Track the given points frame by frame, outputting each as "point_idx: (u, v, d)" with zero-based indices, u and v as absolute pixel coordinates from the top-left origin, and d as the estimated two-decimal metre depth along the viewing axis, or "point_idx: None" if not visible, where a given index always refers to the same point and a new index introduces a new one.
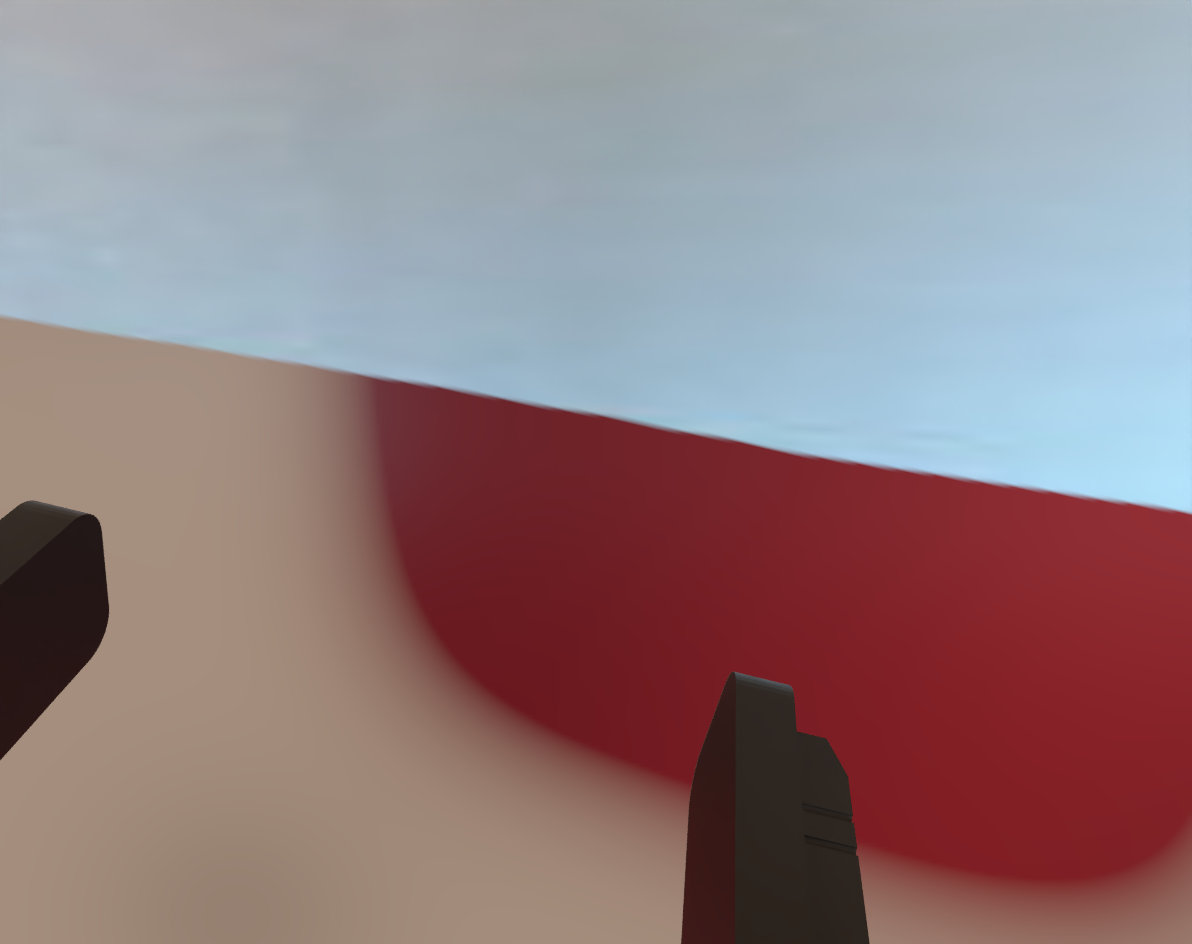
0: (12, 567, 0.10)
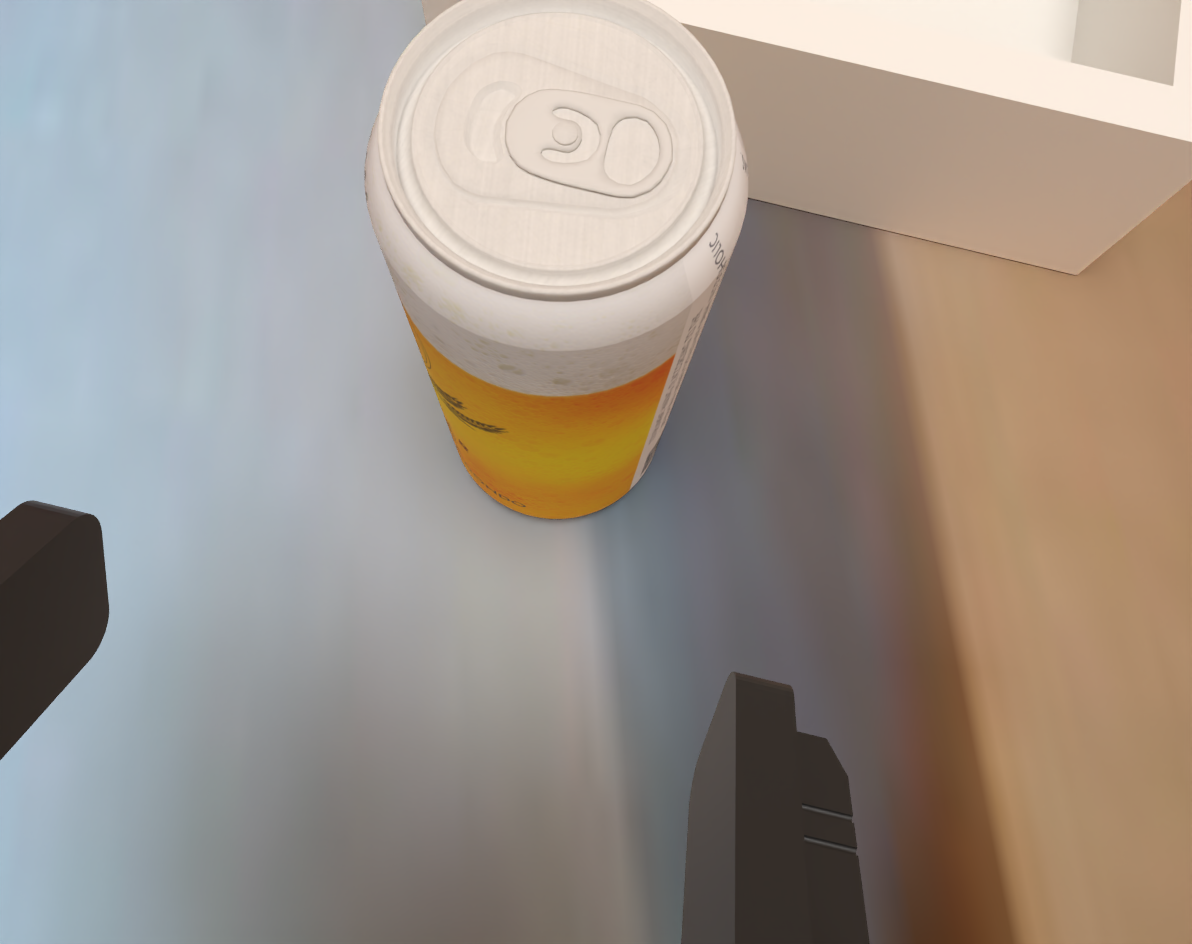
0: (12, 567, 0.10)
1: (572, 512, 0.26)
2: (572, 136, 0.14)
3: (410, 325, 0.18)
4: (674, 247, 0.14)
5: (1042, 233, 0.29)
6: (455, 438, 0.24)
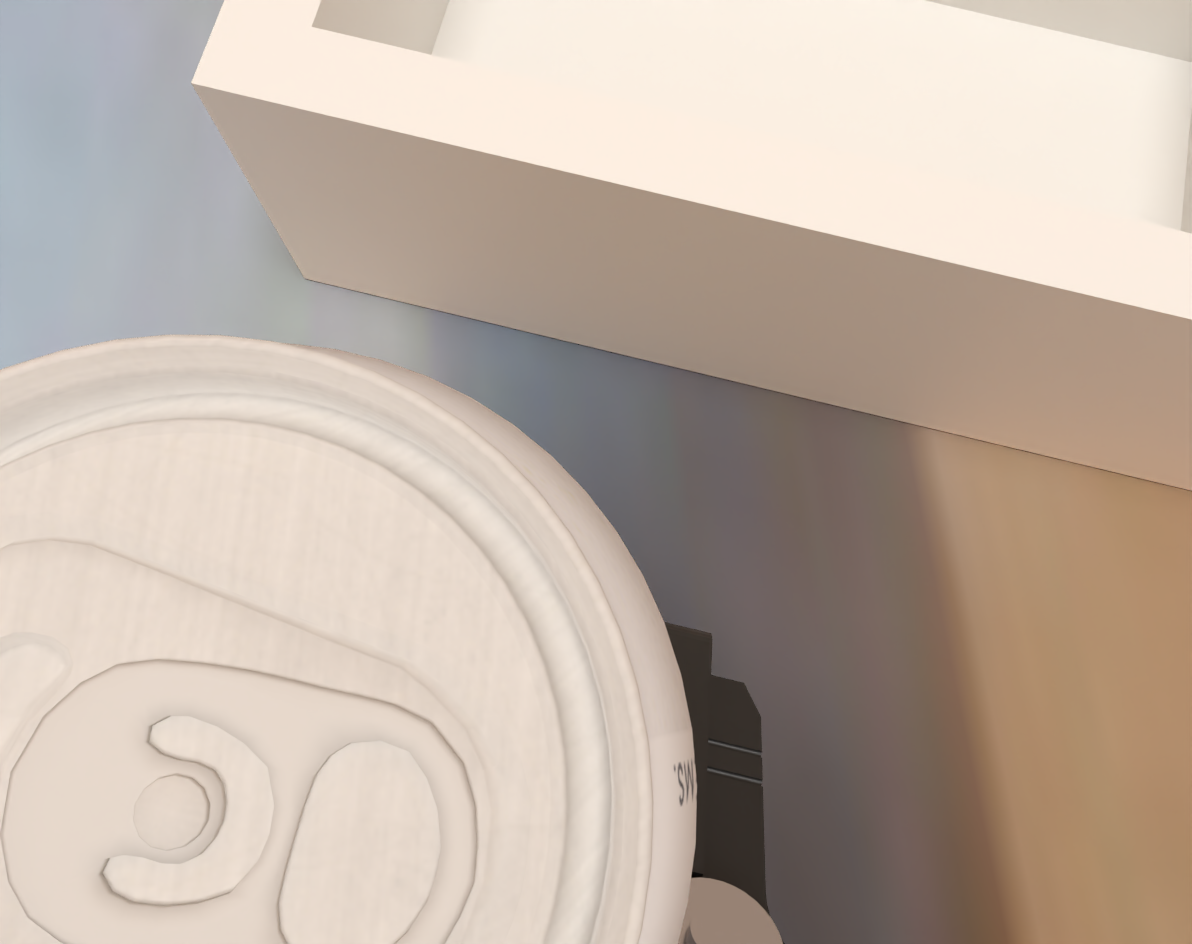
0: None
1: None
2: (188, 823, 0.05)
3: None
4: None
5: (1158, 450, 0.20)
6: None
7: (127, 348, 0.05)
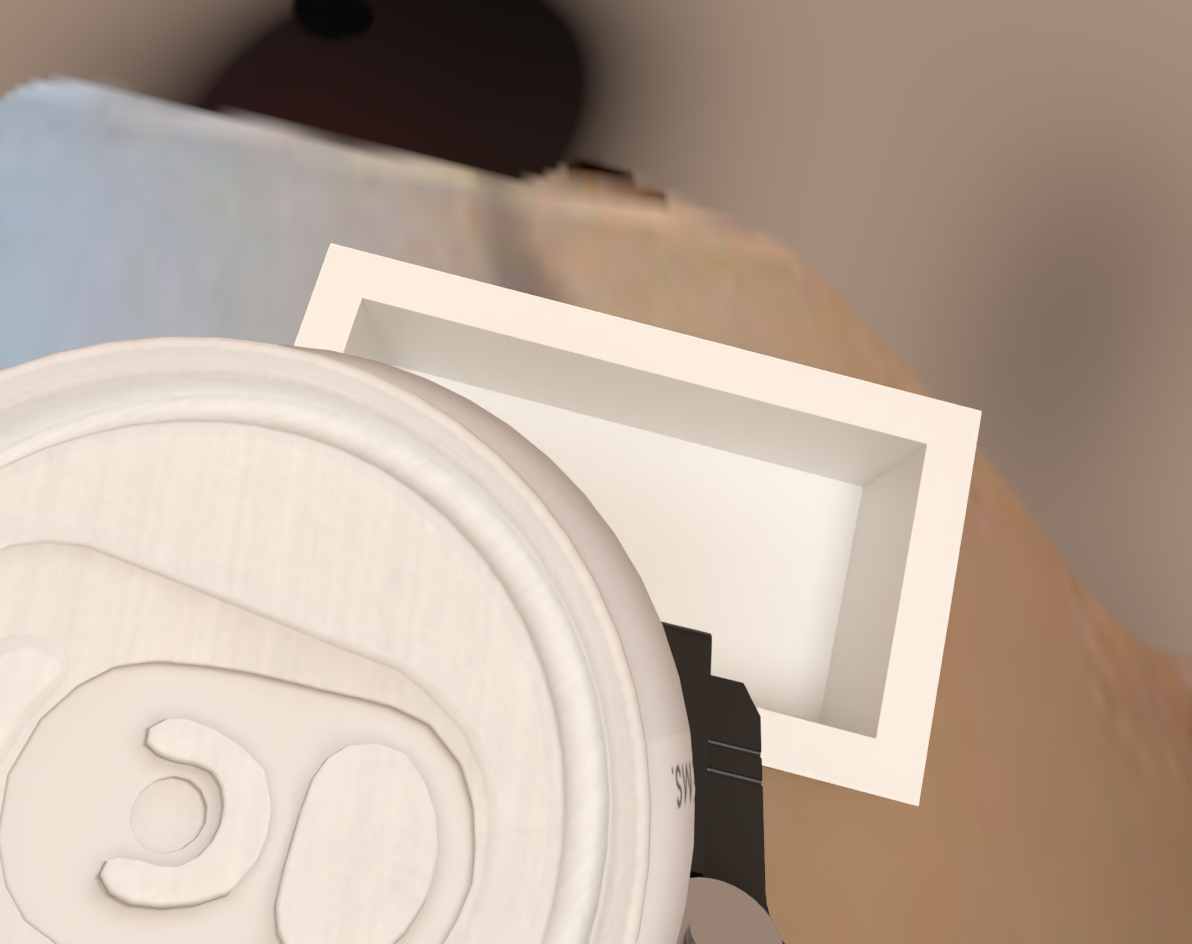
0: None
1: None
2: (186, 828, 0.05)
3: None
4: None
5: None
6: None
7: (123, 351, 0.05)
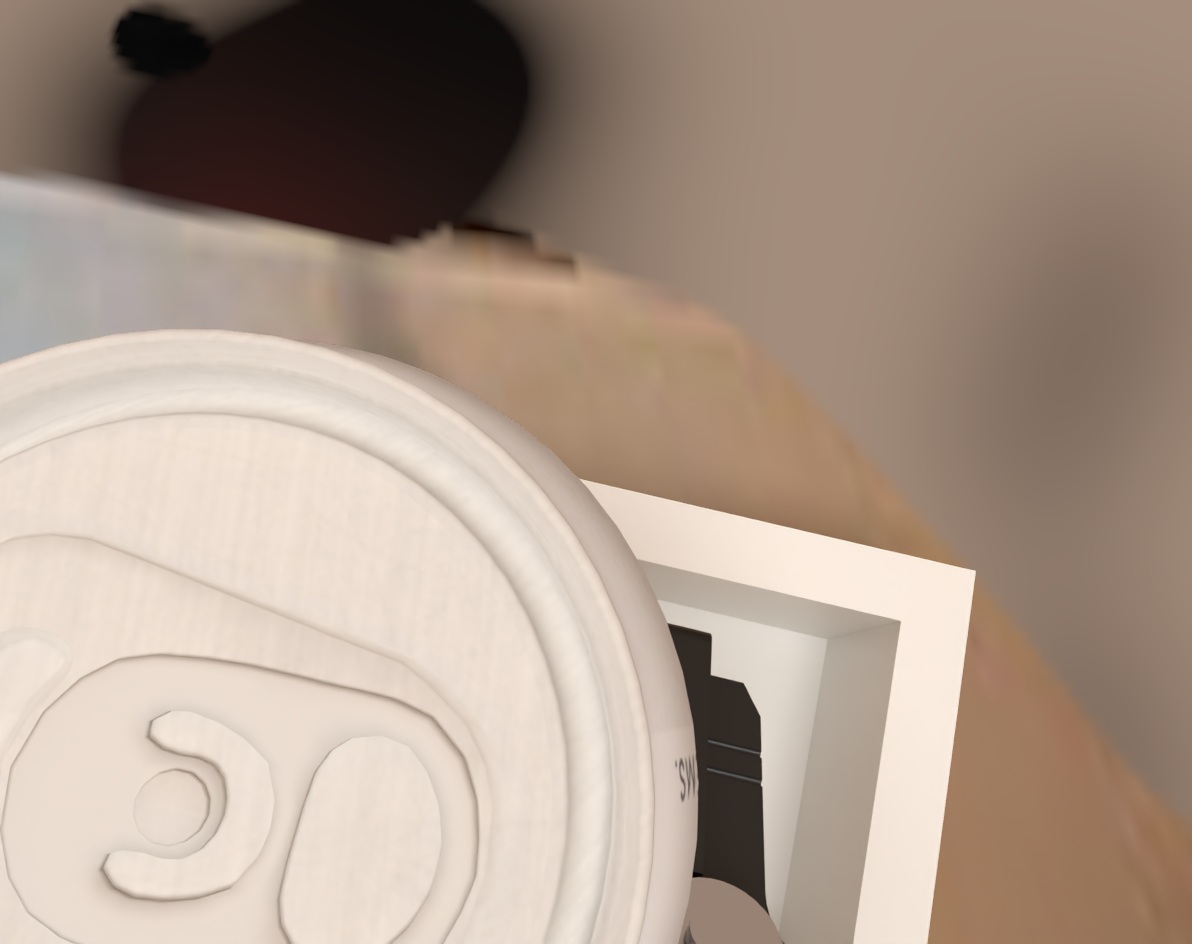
0: None
1: None
2: (189, 820, 0.05)
3: None
4: None
5: None
6: None
7: (125, 344, 0.05)
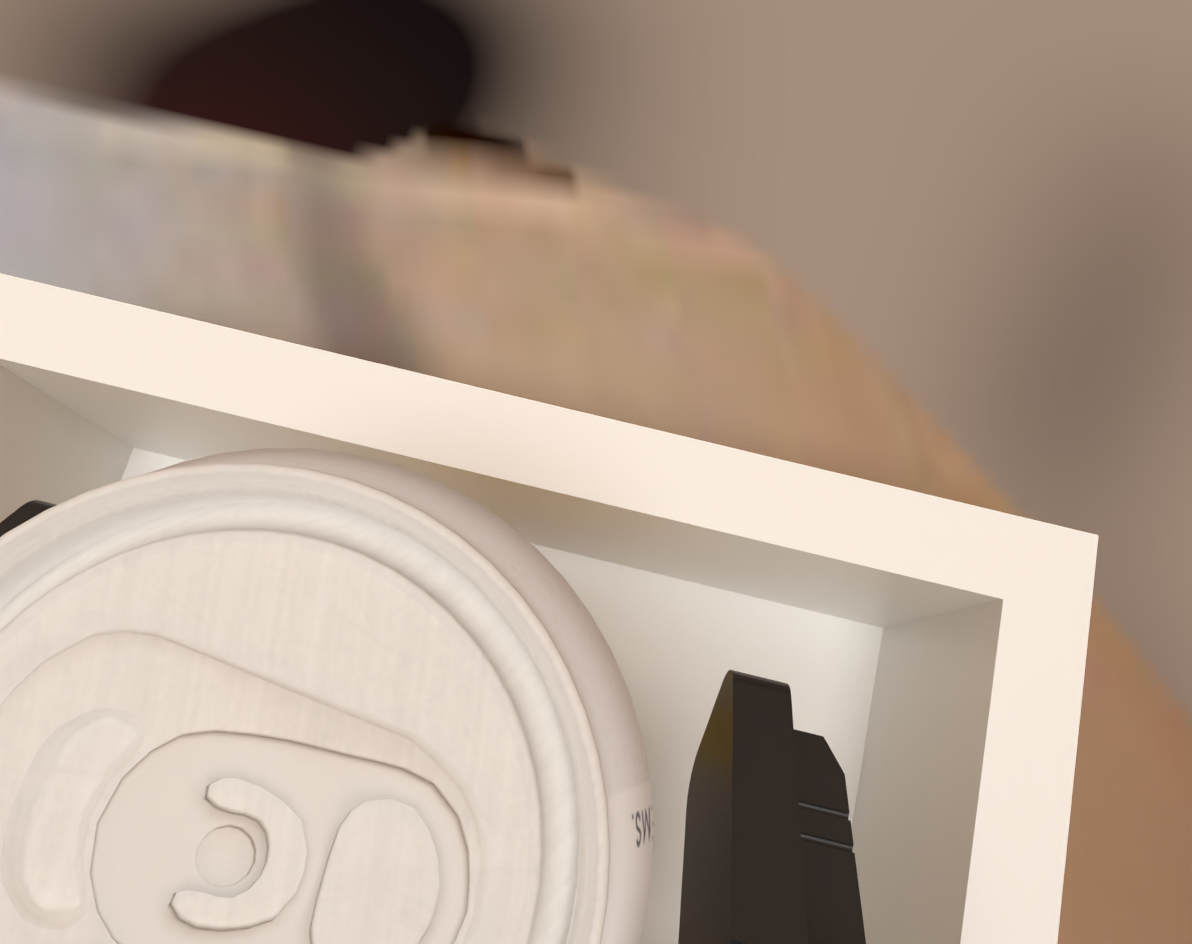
0: None
1: None
2: (238, 867, 0.06)
3: None
4: None
5: None
6: None
7: (185, 474, 0.07)
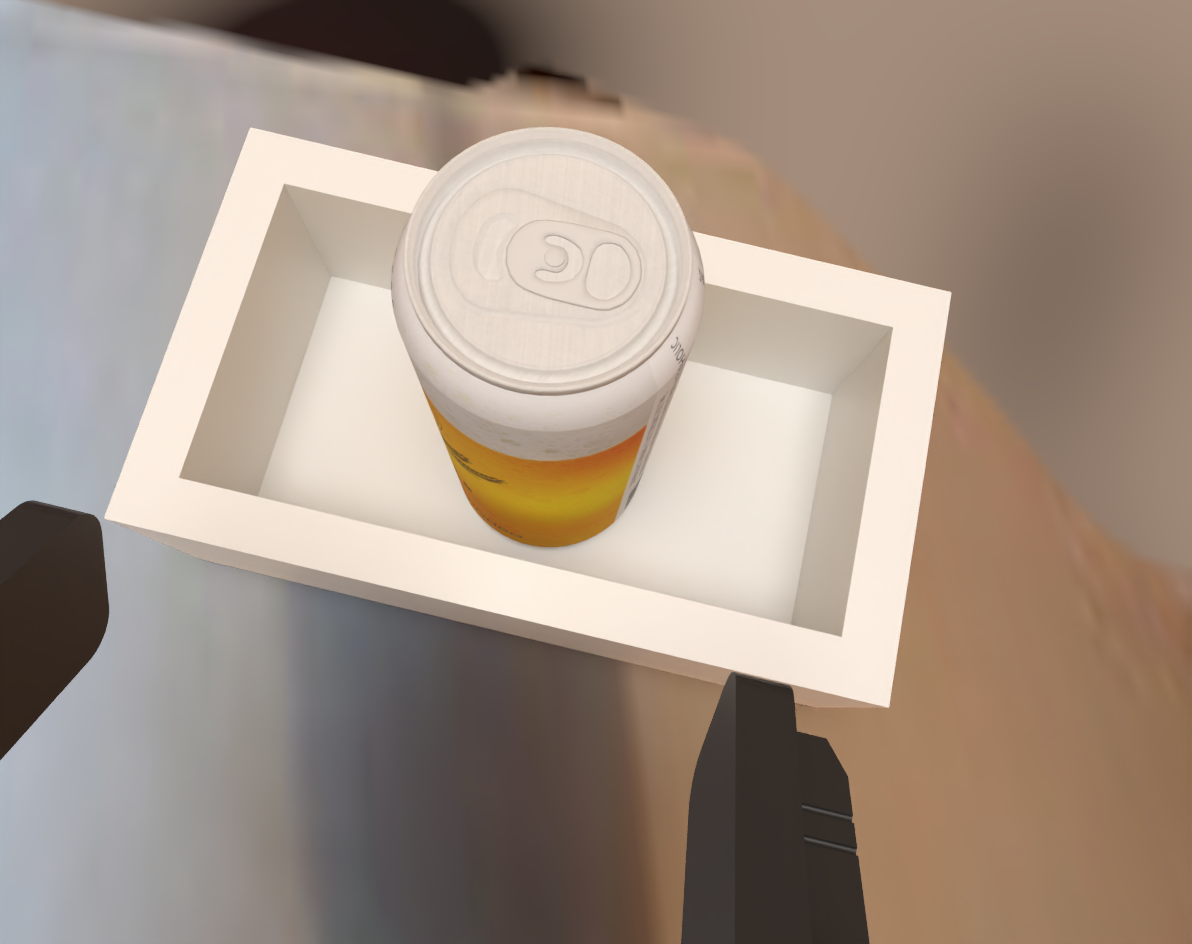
0: (12, 567, 0.10)
1: (563, 542, 0.29)
2: (560, 260, 0.17)
3: (425, 395, 0.21)
4: (642, 351, 0.17)
5: None
6: (460, 479, 0.27)
7: (530, 130, 0.18)
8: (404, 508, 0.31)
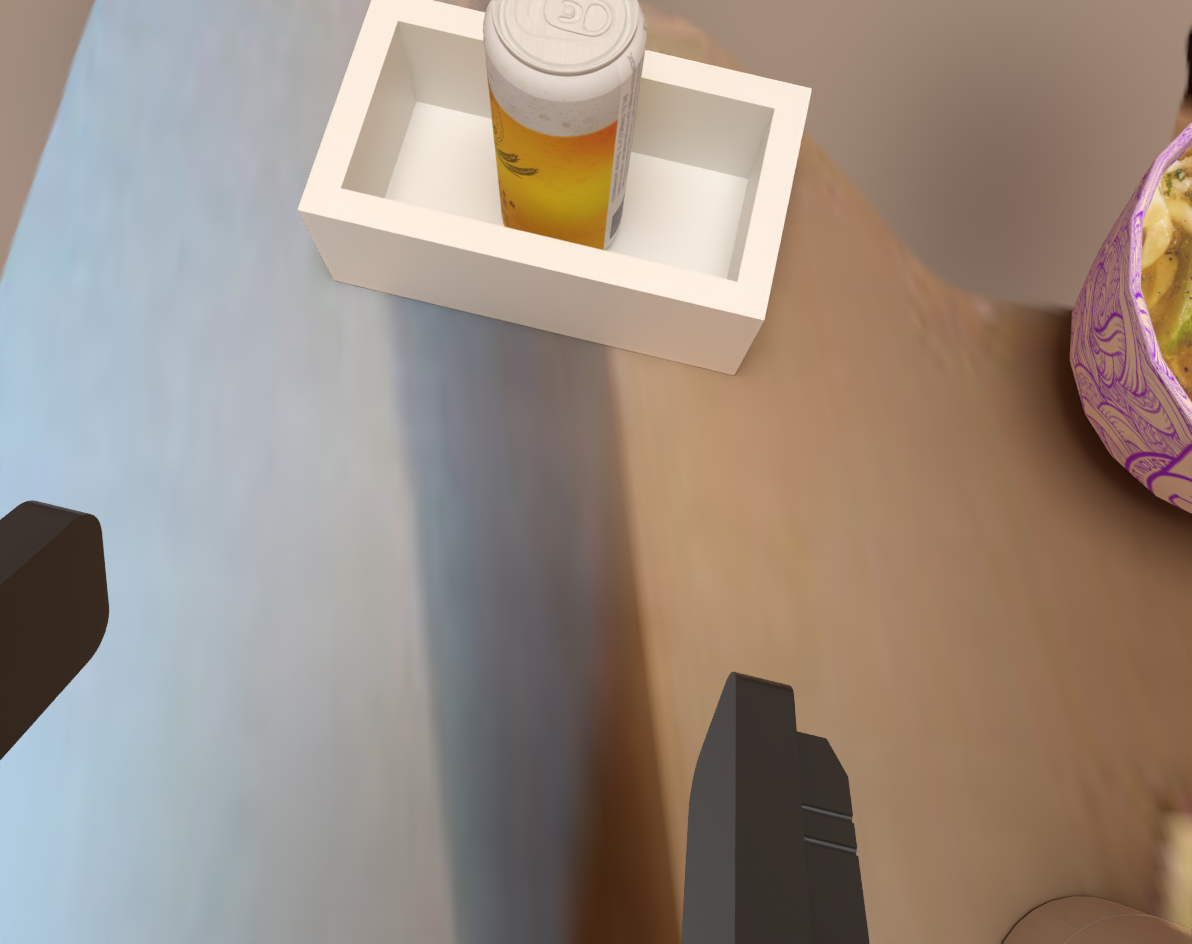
0: (12, 567, 0.10)
1: None
2: (571, 11, 0.34)
3: (494, 113, 0.38)
4: (612, 55, 0.33)
5: (700, 353, 0.46)
6: (507, 204, 0.44)
7: None
8: None
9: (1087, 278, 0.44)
